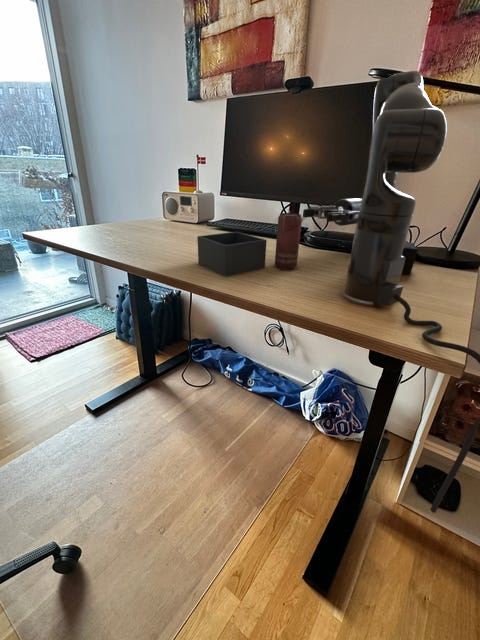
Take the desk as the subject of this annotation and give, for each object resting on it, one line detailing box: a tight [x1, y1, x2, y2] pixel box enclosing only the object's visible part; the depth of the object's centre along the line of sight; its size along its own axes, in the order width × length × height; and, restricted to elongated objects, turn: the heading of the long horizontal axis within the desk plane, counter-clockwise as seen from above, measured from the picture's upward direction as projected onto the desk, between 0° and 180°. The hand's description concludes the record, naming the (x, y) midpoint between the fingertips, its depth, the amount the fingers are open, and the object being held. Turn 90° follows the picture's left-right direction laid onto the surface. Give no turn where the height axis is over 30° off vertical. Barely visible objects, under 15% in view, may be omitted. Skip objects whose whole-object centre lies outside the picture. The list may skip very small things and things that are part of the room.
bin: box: [196, 231, 268, 277], centre depth 81 cm, size 13×13×8 cm
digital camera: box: [401, 240, 419, 275], centre depth 82 cm, size 10×5×7 cm, turn 168°
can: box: [274, 212, 303, 271], centre depth 80 cm, size 6×6×14 cm
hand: (315, 215), depth 83 cm, fingers open, 8 cm apart
